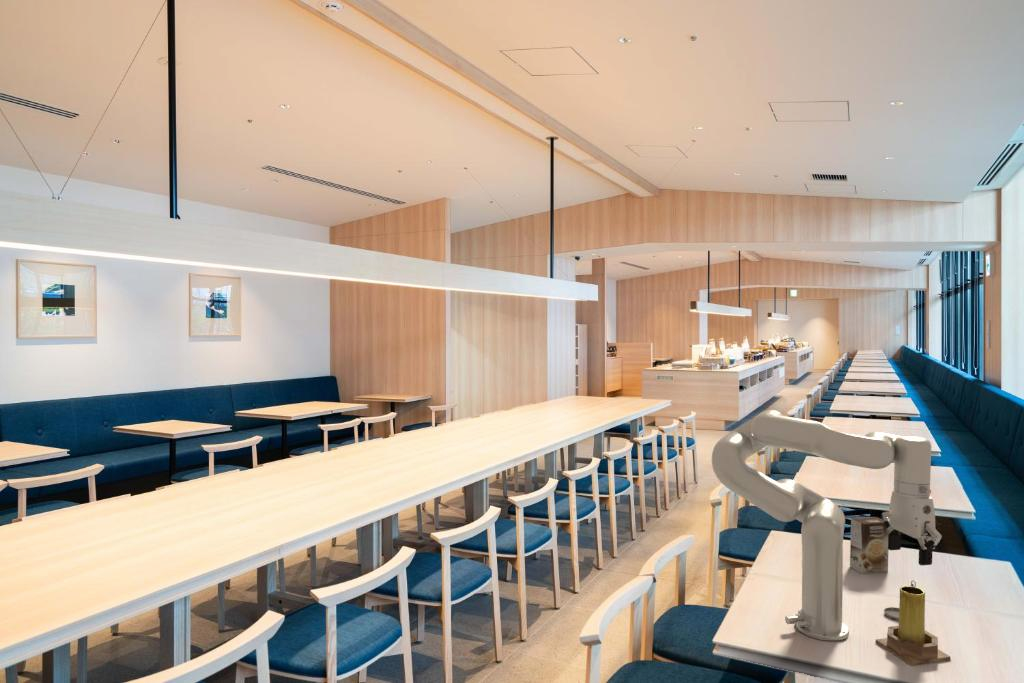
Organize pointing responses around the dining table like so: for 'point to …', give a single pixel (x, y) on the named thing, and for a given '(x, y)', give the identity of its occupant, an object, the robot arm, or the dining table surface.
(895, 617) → the pocket watch
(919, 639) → the vase
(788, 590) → the dining table surface
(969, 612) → the dining table surface
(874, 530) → the coffee box
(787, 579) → the dining table surface
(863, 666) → the dining table surface
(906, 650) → the collar
